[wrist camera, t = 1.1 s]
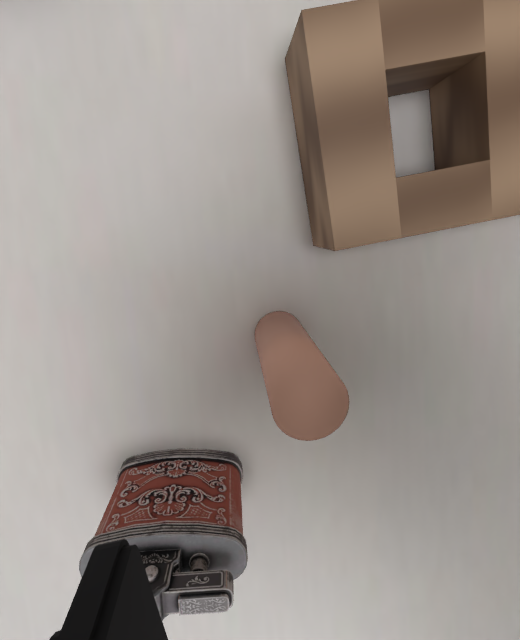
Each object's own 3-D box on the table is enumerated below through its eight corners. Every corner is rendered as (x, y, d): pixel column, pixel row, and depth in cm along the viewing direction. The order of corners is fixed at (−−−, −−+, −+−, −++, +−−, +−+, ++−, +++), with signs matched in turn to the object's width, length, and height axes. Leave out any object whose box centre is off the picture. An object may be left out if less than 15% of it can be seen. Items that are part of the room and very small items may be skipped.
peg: (305, 352, 25) (353, 431, 16) (259, 361, 25) (278, 447, 15) (298, 306, 25) (343, 360, 15) (250, 316, 24) (264, 376, 15)
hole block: (663, 176, 24) (772, 164, 20) (313, 245, 24) (335, 251, 19) (675, -12, 22) (801, -80, 17) (284, 58, 21) (301, 10, 16)
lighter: (122, 496, 27) (61, 652, 17) (118, 451, 26) (52, 587, 16) (242, 490, 27) (250, 637, 18) (242, 446, 26) (250, 574, 17)
